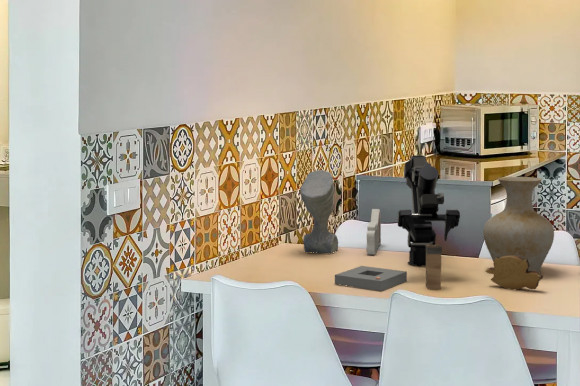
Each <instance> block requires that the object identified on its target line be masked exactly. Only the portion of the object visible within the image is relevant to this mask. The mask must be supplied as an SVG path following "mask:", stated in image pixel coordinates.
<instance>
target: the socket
mask: <svg viewBox="0 0 580 386" xmlns="http://www.w3.org/2000/svg"><path fill="white" fill-rule="evenodd" d="M407 275H408V272H407V271H406V270H405V271H404V270H400V269H399V270H398V269H390V268H381V267H374V266H366V265H360V266H357V267H354V268H351V269H348V270H345V271H342V272H339V273H336V274H334V285H335V284H341V285H347V286H346V287H348V286H353V287H352V288H355V287H358V288H357V289H362V288H363V289H362V290H370V291H377V292H378V291H379V292H382V291H383V292H384V291H385V290H388V289H390V288H393V287H396V286H398V285H400V284H403V283H405V282H407V280H408V278H407V277H408V276H407ZM341 285H340V286H341Z"/></svg>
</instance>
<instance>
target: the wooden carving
mask: <svg viewBox="0 0 580 386" xmlns="http://www.w3.org/2000/svg"><path fill="white" fill-rule="evenodd" d="M492 264H493V267H489V268H487V269H485V272H486V273H487V274H490V275H493V277H491V278H490V281H492V283H494V284H496V285H498V286H500V287H502V288H504V289H508V290H514V289H517V290H520V289H524V288H527V289H529V290H536V289H537V287H538V286H539V283H540V281H541V280H542V279H543V276H544V275H543V274H541V272H540V273H539V272H537V271H528V268H529V266H530V264H529V262H528V259H525V260H524V259H522V258H521V257H518V256H514V255H507V256H503V257H497V258H495V260H494V262H492Z"/></svg>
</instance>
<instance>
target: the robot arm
mask: <svg viewBox="0 0 580 386" xmlns="http://www.w3.org/2000/svg"><path fill="white" fill-rule="evenodd" d="M440 177H441V175H440V174H439V171H438V169H437V168H436V167H434V166H432V163H429V161H427V157H426V155H424V154H422V155H421V154H420V155H419V154H418V155H417V154H416V155H415V154H413V155H411V156H410V159H409V160H408V161H406V162H405V163H404V167H403V178H404V179H405V183H406V186H408V188H409V189H411V201H412V203H411V204H412V209H399V211H398V212H397V227H400V228H402V229H403V230H406V231H407V232H408V233H407V246H408V248H410V249H409V253H408V259H409V260H408V262H407V264H409V265H413V266H414V267H426V245H436V239H437V233H436V232H435V229H434V228H433V224H432V222H444V229H443V230H444V237H443V238H444V241H445V242H447V239H448V237H449V233H450V232H451V230H453V229H454V228H455V227H458V226H459V224H460V219H461V212H460V210H459V209H445V214H441V213H440V214H438V212H439V205H444V203H445V195H444V192H438V193H436V190H435V189H436V187H437V184H438V180H439V179H440Z"/></svg>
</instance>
